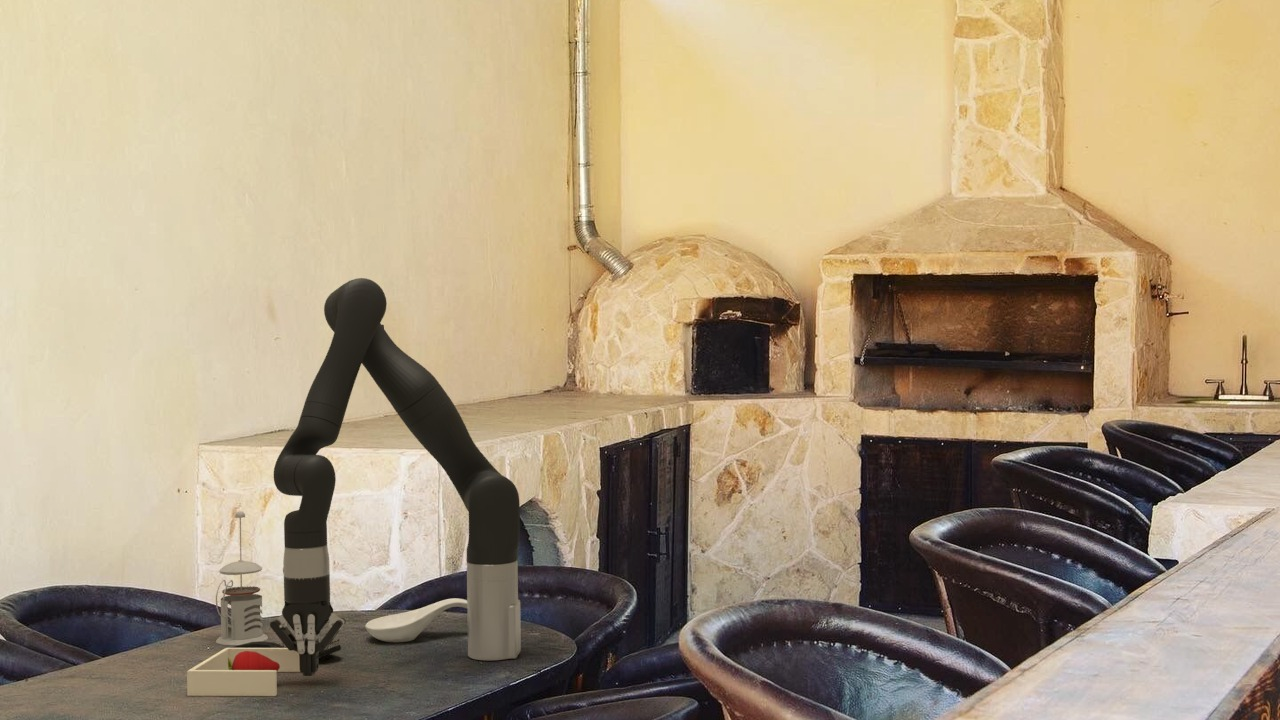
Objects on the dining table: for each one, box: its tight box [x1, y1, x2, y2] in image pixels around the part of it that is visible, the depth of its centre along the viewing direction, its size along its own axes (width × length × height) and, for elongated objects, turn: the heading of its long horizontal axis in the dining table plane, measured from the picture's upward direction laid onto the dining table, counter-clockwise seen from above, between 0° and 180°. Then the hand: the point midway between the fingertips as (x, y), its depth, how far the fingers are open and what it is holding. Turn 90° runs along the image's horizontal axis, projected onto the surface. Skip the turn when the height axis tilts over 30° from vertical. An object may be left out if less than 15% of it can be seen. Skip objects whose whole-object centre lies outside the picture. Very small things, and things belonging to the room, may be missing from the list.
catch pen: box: [186, 647, 301, 697], centre depth 220 cm, size 15×17×4 cm
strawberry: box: [228, 651, 280, 671], centre depth 217 cm, size 6×8×10 cm
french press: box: [215, 511, 269, 646], centre depth 253 cm, size 10×12×25 cm
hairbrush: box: [229, 638, 342, 658], centre depth 240 cm, size 8×4×25 cm
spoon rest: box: [365, 597, 467, 643], centre depth 254 cm, size 24×12×7 cm, turn 105°
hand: (309, 674), depth 220 cm, fingers closed
